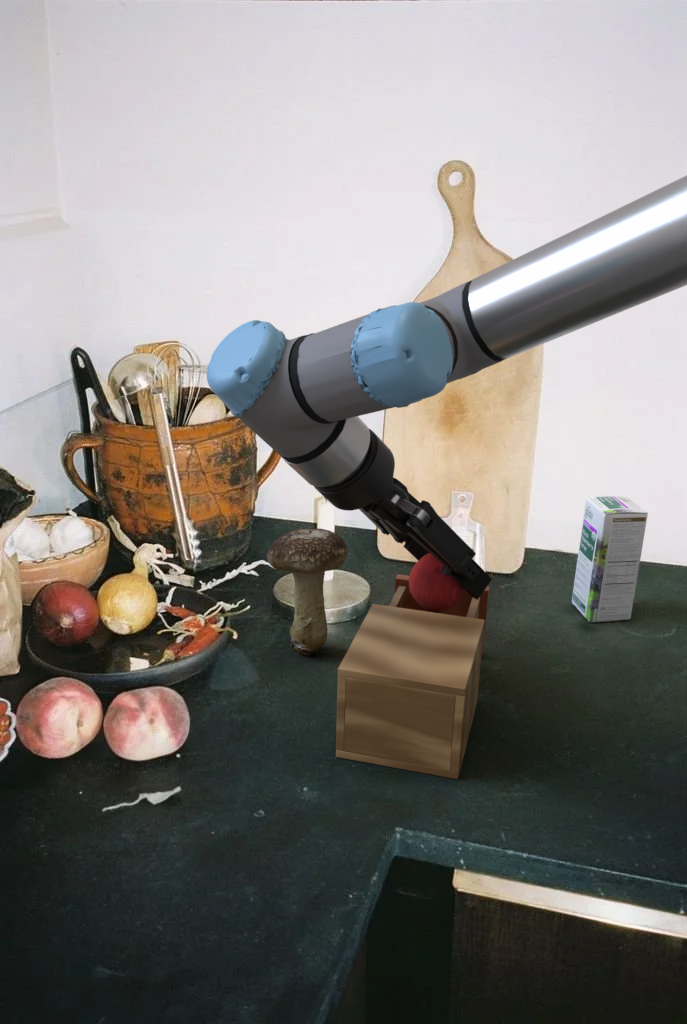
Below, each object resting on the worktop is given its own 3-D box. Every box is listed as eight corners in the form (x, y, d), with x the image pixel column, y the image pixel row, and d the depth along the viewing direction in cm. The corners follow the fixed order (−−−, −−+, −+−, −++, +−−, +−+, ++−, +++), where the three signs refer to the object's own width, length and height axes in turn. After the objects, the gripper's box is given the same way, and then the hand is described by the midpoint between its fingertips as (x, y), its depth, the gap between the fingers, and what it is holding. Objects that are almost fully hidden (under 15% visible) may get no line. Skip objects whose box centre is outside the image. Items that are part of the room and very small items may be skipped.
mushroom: (291, 682, 100) (292, 554, 95) (252, 647, 107) (251, 526, 102) (363, 659, 105) (368, 536, 100) (322, 627, 112) (325, 510, 106)
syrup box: (569, 602, 120) (582, 496, 114) (612, 600, 121) (627, 494, 115) (588, 623, 114) (603, 513, 109) (633, 620, 115) (650, 510, 110)
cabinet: (369, 683, 100) (372, 603, 97) (477, 701, 98) (484, 619, 94) (335, 757, 88) (337, 668, 85) (458, 779, 85) (465, 688, 82)
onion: (468, 608, 101) (474, 540, 99) (451, 631, 96) (456, 560, 94) (418, 597, 104) (422, 530, 101) (399, 619, 99) (402, 549, 96)
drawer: (403, 616, 113) (406, 557, 110) (489, 629, 111) (494, 569, 108) (369, 690, 97) (371, 623, 95) (468, 706, 95) (474, 639, 92)
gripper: (428, 449, 80) (545, 580, 94) (309, 402, 94) (427, 522, 108) (376, 520, 79) (502, 641, 93) (264, 461, 93) (389, 574, 107)
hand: (462, 577), depth 101 cm, fingers closed on onion, 6 cm apart
